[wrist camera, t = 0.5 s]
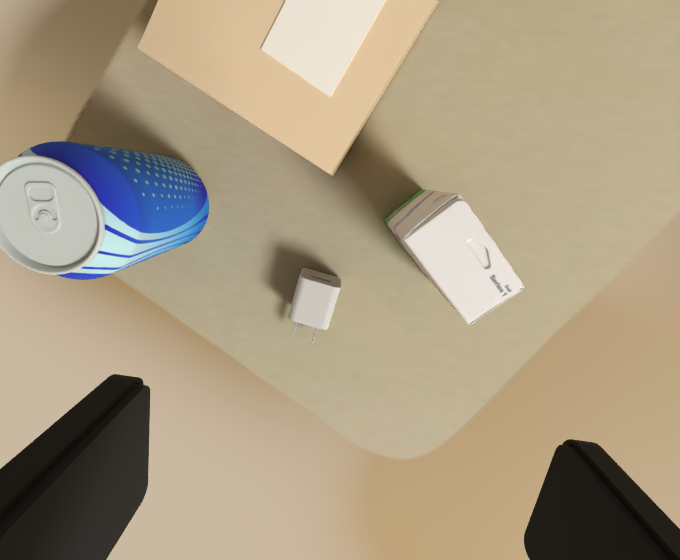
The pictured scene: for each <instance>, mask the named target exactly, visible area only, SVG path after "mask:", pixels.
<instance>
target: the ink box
mask: <svg viewBox="0 0 680 560" xmlns="http://www.w3.org/2000/svg"><path fill="white" fill-rule="evenodd" d="M384 221H385V223H386V224H387V225H388V227H389V228H390V229H391V231H392V232H393V233H394V235H395V236H396V237H397V239H398V240H399V241H400V243H401V244H402V245H403V246H404V248H405V249H406V250H407V252H408V253H409V254H410V256H411V257H412V258H413V259H414V261H415V262H416V263H417V265H418V266H419V267H420V269H421V270H422V271H423V272H424V274H425V275H426V276H427V277H428V279H429V280H430V281H431V282H432V284H433V285H434V286H435V287H436V288H437V289H438V291H439V292H440V293H441V294H442V295H443V296H444V298H445V299H446V300H447V301H448V302H449V303H450V304H451V306H452V307H453V308H454V309H455V310H456V311H457V312H458V313H459V315H460V316H461V317H462V318H463V319H464V320H465V322H466V323H467V324H469V325H470V324H472V323H474V322H475V321H477V320H478V319H480V318H482V317H483V316H485V315H486V314H488V313H489V312H491V311H492V310H494V309H495V308H496V307H498V306H499V305H501V304H502V303H504V302H505V301H507V300H508V299H510V298H511V297H513V296H514V295H516V294H517V293H518V292H520V291H521V290H522V289H523V288H524V286H523V284H522V283H521V280H520V279H519V278H518V276H517V275H516V274H515V272H514V271H513V269H512V267H511V266H510V264H509V263H508V261H507V260H506V259H505V258H504V256H503V255H502V254H501V252H500V251H499V249H498V247H497V245H496V244H495V242H494V241H493V239H492V238H491V237H490V236H489V234H488V233H487V232H486V230H485V229H484V227H483V225H482V223H481V222H480V221H479V219H478V218H477V216H476V215H475V214H474V213H473V212H472V210H471V208H470V207H469V205H468V204H467V202H465V201H464V200H463V198H462V197H461V196H460V194H456V193H446V192H437V191H428V190H420V191H418V192H417V193H416V194H415V195H413V196H412V197H411V198H410V199H408V200H407V201H406V202H405V203H403V204H402V205H401V206H400V207H398V208H397V209H396V210H395V211H394V212H392V213H391V214H390V215H389V216H388V217H387V218H386V219H385V220H384Z"/></svg>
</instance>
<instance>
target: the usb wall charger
mask: <svg viewBox="0 0 680 560" xmlns="http://www.w3.org/2000/svg"><path fill="white" fill-rule="evenodd" d="M340 288H341V279H340V278H338V277H336V276H332V275H329V274H325V273H322V272H318V271H315V270H312V269H308V268H303V269H302V271H301V273H300V275H299V279H298V283H297V286H296V290H295V293H294V297H293V301H292V304H291V308H290V311H289V315H288V318H289V319H290V320H291V321H294V322H296V325H295V329H294V332H293V336H292V339H293V338H294V334H295V331H296V327H297V324H298V323H301V324H305V325H308V326H312V327H315V328H316V329H315V333H314V336H313V339H312V344H313V342H314V339H315V335H316V332H317V329H318V328H319V329H328V327H329V323H330V320H331V317H332V314H333V310H334V307H335V304H336V301H337V298H338V294H339V291H340Z"/></svg>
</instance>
